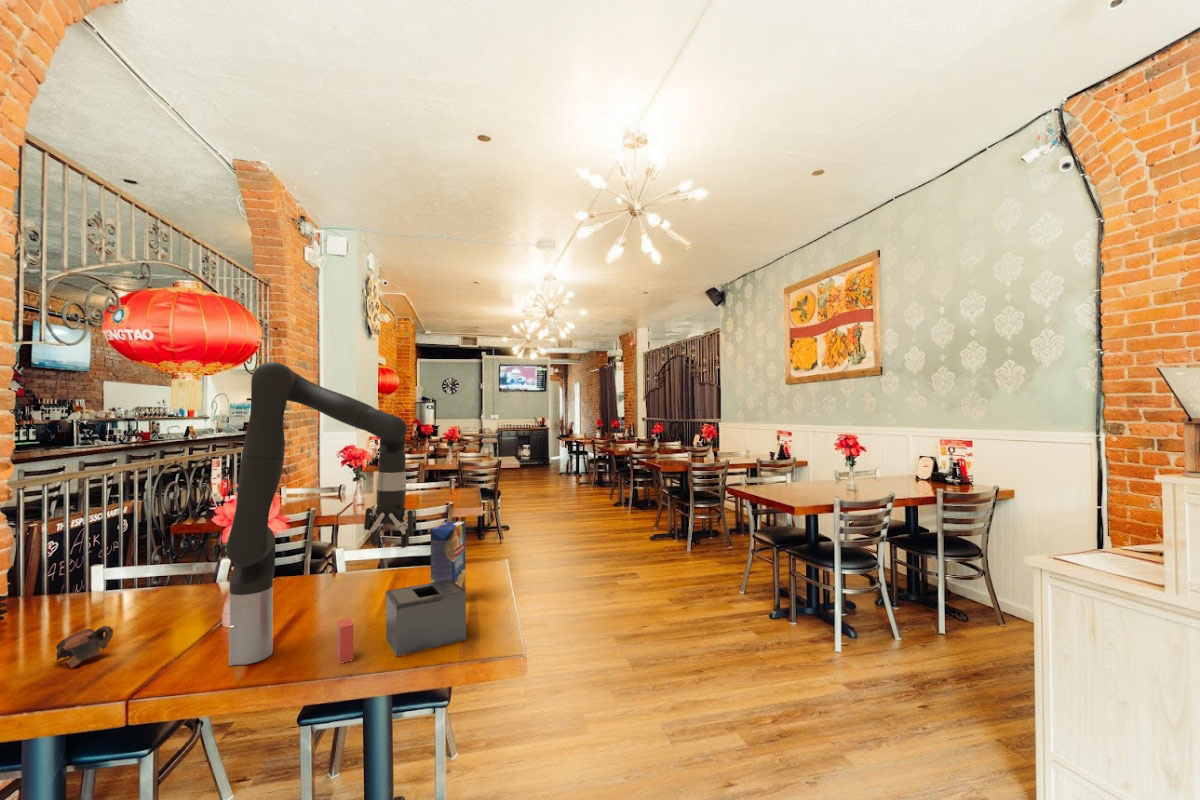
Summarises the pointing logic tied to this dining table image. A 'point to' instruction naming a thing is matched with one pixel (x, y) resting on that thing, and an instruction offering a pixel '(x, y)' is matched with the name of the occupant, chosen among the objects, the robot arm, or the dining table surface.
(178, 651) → the dining table surface
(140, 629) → the dining table surface
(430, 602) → the grey slotted box
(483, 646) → the dining table surface
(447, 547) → the blue tall cardboard box
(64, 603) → the dining table surface
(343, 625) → the red rectangular block
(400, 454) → the robot arm
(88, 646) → the brown curved piece
